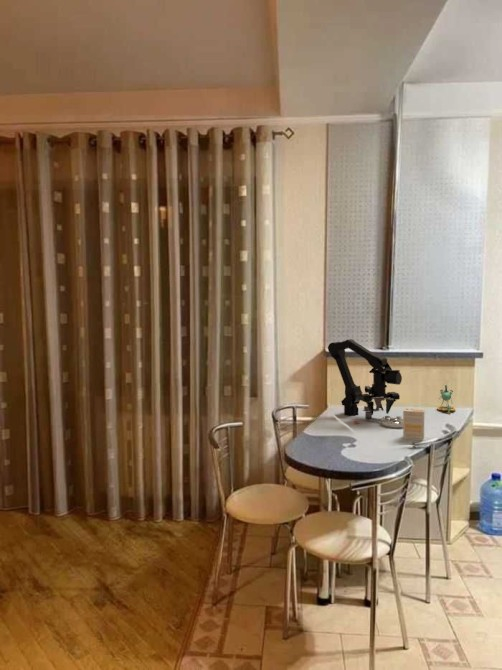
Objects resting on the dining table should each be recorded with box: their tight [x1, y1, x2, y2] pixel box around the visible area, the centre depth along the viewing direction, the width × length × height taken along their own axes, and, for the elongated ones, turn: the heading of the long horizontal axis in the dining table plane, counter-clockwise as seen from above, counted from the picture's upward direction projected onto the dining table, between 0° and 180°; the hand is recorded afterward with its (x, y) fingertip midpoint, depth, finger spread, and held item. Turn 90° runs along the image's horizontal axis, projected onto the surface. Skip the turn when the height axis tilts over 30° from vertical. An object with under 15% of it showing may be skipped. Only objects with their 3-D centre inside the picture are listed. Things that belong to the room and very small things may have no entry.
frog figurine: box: [436, 384, 457, 415], centre depth 269 cm, size 10×18×15 cm, turn 154°
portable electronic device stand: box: [363, 394, 386, 412], centre depth 269 cm, size 9×8×8 cm
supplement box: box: [402, 408, 425, 441], centre depth 214 cm, size 8×5×13 cm, turn 65°
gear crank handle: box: [364, 410, 403, 430], centre depth 238 cm, size 20×12×4 cm, turn 51°
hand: (379, 414), depth 246 cm, fingers open, 8 cm apart
